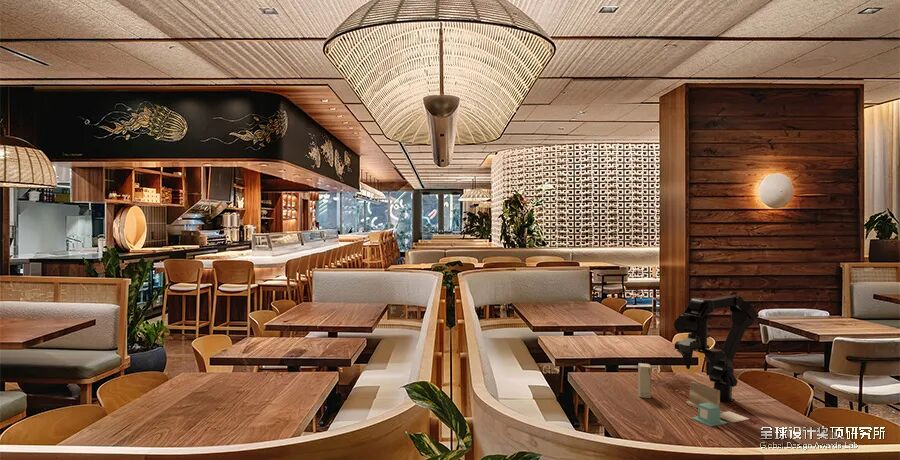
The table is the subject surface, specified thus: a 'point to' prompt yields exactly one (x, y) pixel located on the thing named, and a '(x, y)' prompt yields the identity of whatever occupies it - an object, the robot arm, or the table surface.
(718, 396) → the screen
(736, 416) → the ivory coaster
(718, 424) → the teal coaster
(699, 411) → the cube
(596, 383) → the table surface
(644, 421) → the table surface
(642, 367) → the skincare box
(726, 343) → the robot arm
